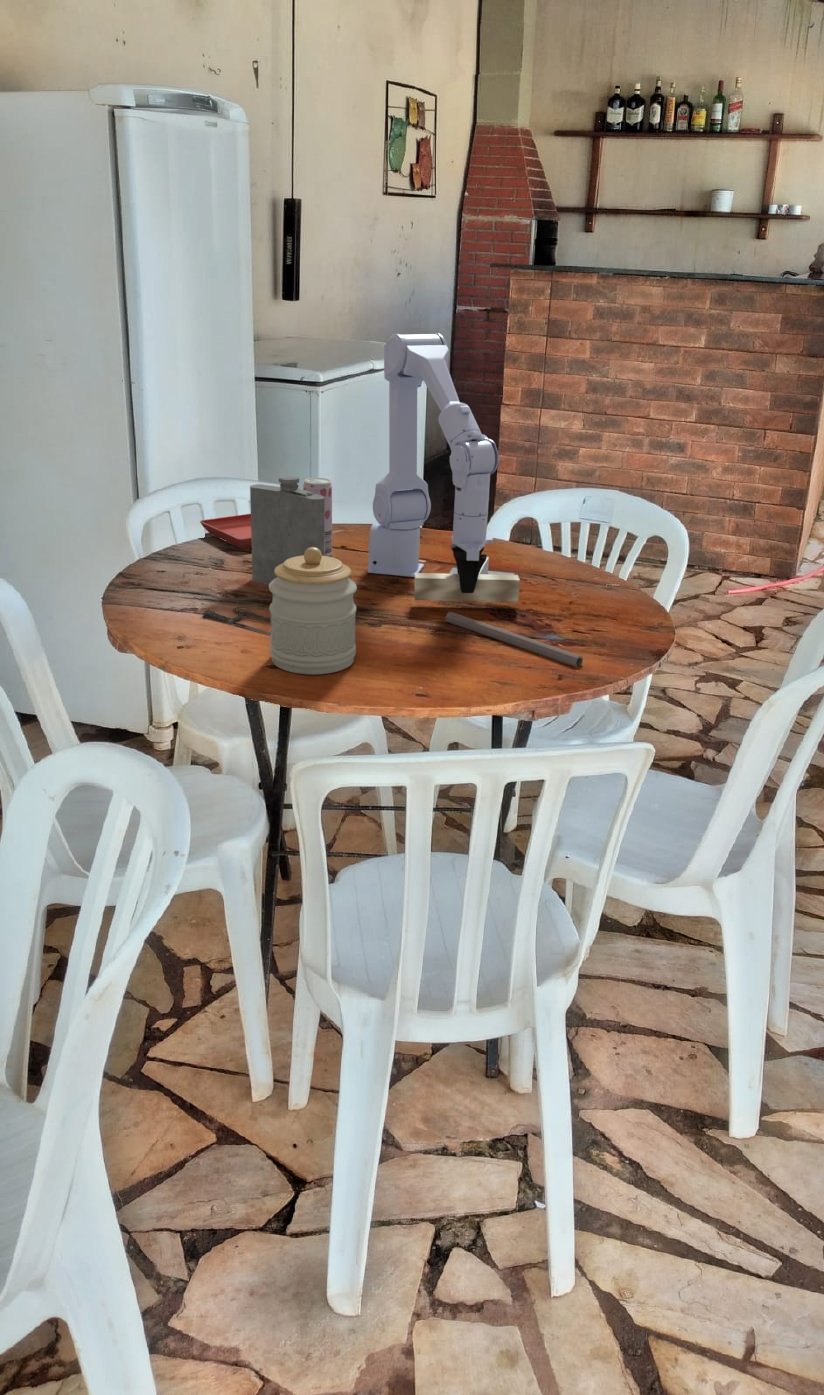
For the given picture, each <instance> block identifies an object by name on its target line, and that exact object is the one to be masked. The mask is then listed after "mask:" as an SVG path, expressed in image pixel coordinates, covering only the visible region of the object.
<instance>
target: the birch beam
mask: <svg viewBox="0 0 824 1395" xmlns="http://www.w3.org/2000/svg"><path fill="white" fill-rule="evenodd" d="M520 582H521V579H520V577H519V575H518V574H515V575H492V574H479V575H478V579H477V583H476V587H475V590H474V592H473V593H462V592H461V588H460V580H459V574H449V573H433V572H432V573H430V572H428V573H427V572H419V573H415V577H414V588H413V597H414V601H426V602H427V601H433V602H437V601H439V602H440V601H441V602H485V603H487V602H489V603H492V602H493V603H494V602H495V603H498V602H499V603H519V598H520V597H519V596H520Z"/></svg>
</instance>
